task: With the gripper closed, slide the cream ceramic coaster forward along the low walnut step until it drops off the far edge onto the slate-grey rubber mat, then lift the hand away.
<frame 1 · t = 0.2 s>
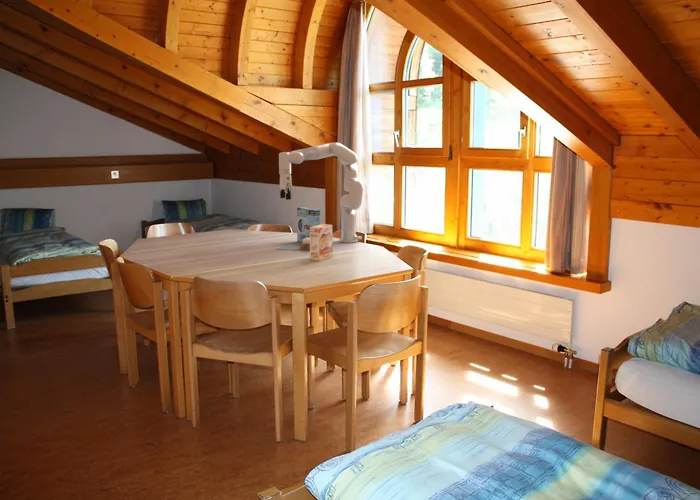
hand: (285, 198, 433), 31 cm above the table, tool pointing down, fingers open, 9 cm apart
coffeecake box: (321, 258, 399), on the table
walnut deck: (310, 248, 430), on the table
gum box: (308, 243, 451), on the table
cream coaster: (310, 240, 429), point 5 cm above the table, touching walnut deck
slate mat: (291, 247, 433), on the table
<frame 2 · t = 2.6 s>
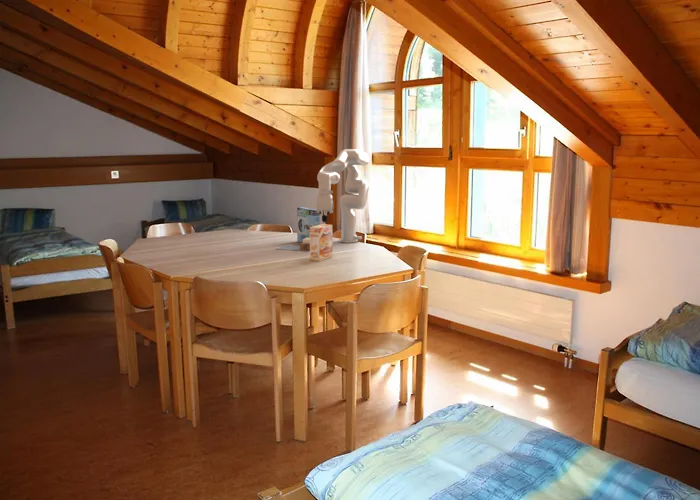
hand: (324, 221, 424), 18 cm above the table, tool pointing down, fingers closed
nothing on the table moved.
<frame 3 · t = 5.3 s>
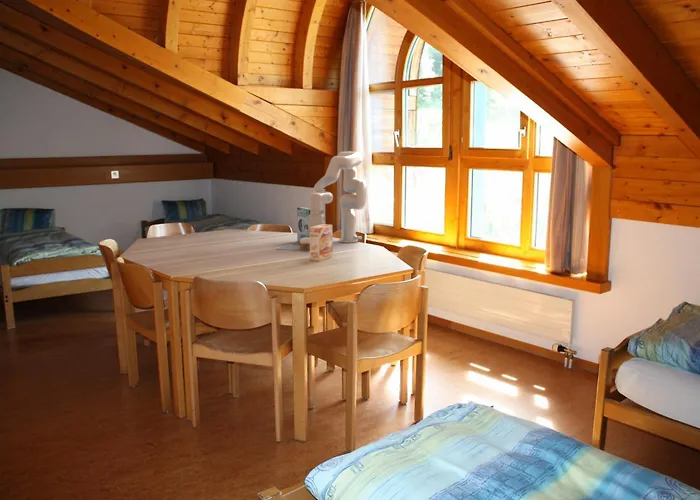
hand: (316, 241, 428), 5 cm above the table, tool pointing down, fingers closed
cream coaster: (308, 240, 430), point 5 cm above the table, touching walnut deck
everything else where it was.
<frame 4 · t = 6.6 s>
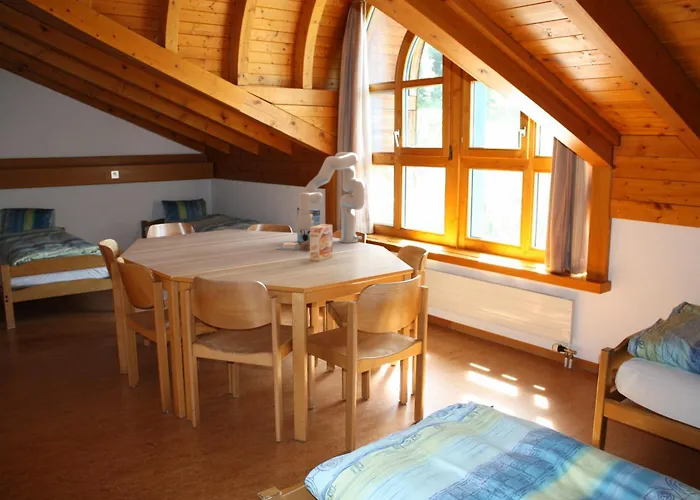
hand: (305, 240, 430), 5 cm above the table, tool pointing down, fingers closed
cream coaster: (290, 245, 433), point 1 cm above the table, tilted 180°, touching slate mat
everything else where it was.
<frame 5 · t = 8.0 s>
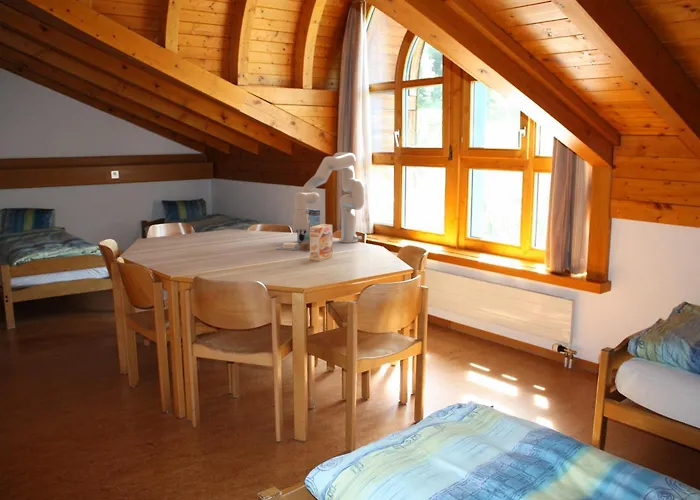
hand: (301, 240, 431), 5 cm above the table, tool pointing down, fingers closed
nothing on the table moved.
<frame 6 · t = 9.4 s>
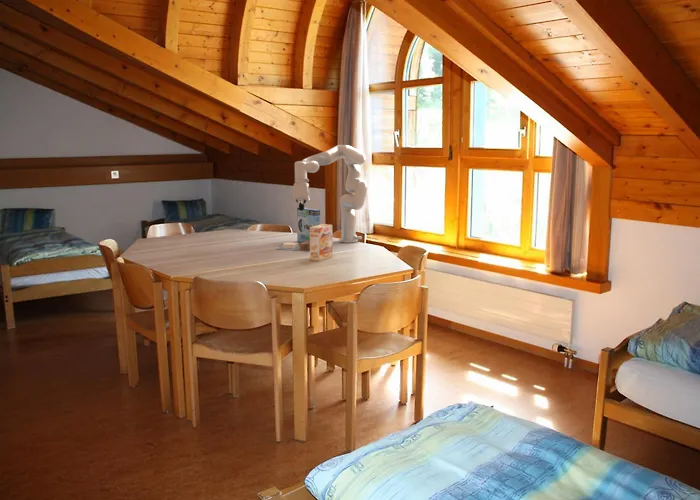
hand: (301, 210, 427), 24 cm above the table, tool pointing down, fingers closed
nothing on the table moved.
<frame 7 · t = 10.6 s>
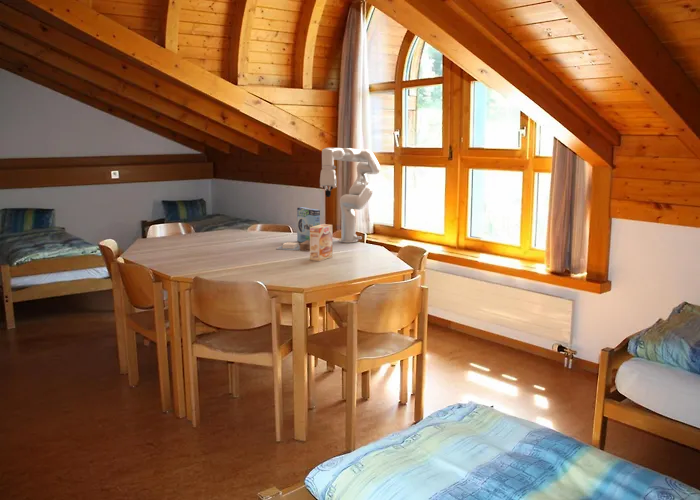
hand: (328, 196, 435), 32 cm above the table, tool pointing down, fingers closed
nothing on the table moved.
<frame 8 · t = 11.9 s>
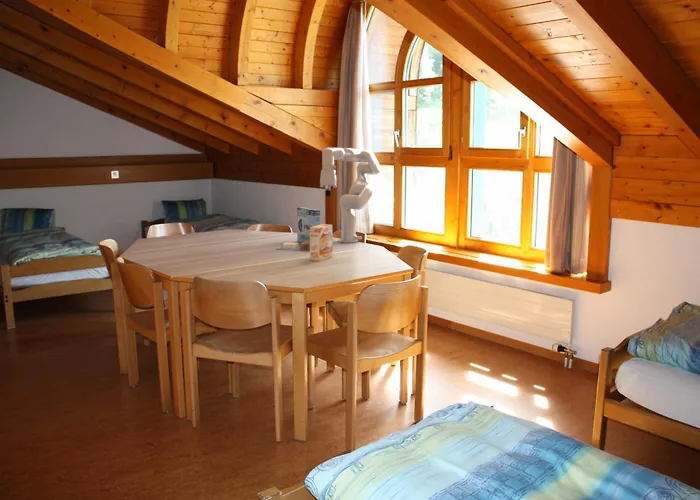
hand: (328, 196, 435), 32 cm above the table, tool pointing down, fingers closed
nothing on the table moved.
at the end: cream coaster inside the target area on the slate mat (0.5 cm from its centre), point 1.5 cm above the slate mat's base; cream coaster point 1.5 cm above the table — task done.
